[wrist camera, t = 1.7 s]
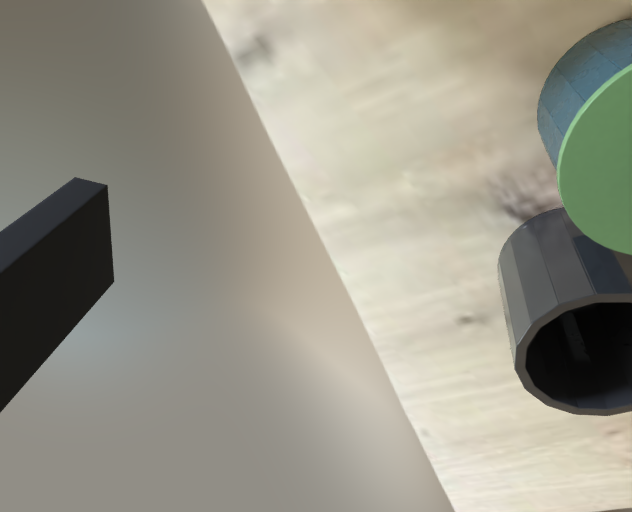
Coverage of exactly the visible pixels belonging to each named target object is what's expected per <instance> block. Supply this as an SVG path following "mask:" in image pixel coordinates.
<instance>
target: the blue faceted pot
mask: <svg viewBox="0 0 632 512" xmlns="http://www.w3.org/2000/svg"><path fill="white" fill-rule="evenodd" d="M630 64H632V19H627V20H622V21H619V22H616V23H612V24H610V25H607V26H605V27H603V28H600V29H598V30H596V31H595V32H593V33H591V34H589V35H588V36H586V37H585V38H583V39H582V40H580V41H579V42H578V43H576V44H575V45H574V46H573V47H572V48H571V49H570V50H568V51H567V52H566V53H565V55H564V56H563V57H562V58H561V59H560V60H559V61H558V63H557V64H556V65H555V67H554V68H553V69H552V71H551V73H550V74H549V76H548V78H547V80H546V82H545V84H544V87H543V89H542V92H541V95H540V99H539V104H538V110H537V121H538V130H539V133H540V135H541V139H542V141H543V143H544V146H545V148H546V151H547V153H548V155H549V157H550V159H551V161H552V163H553V165H554V167H555V169H556V171H557V162H558V157H559V151H560V148H561V145H562V142H563V139H564V137H565V135H566V132H567V130H568V128H569V126H570V124H571V123H572V121H573V119H574V118H575V116H576V115H577V113H578V112H579V110H580V109H581V108H582V106H583V105H584V104H585V103H586V102H587V100H588V99H589V98H590V97H591V96H592V95H593V94H594V93H595V92H596V91H597V90H598V89H599V88H600V87H601V86H602V85H603V84H604V83H605V82H607V81H608V80H609V79H610V78H612V77H613V76H614V75H615V74H617V73H618V72H620V71H621V70H623V69H624V68H626V67H627V66H629V65H630Z"/></svg>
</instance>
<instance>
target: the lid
mask: <svg viewBox="0 0 632 512" xmlns="http://www.w3.org/2000/svg"><path fill="white" fill-rule="evenodd" d="M557 184H558V190H559V194H560V197H561V200H562V203H563V205H564V207H565V209H566V211H567V213H568V215H569V217H570V218H571V219H572V221H573V222H574V224H575V225H576V226H577V227H578V228H579V229H580V230H581V231H582V232H583V233H584V234H585V235H587V236H588V237H589V238H591V239H592V240H593V241H595V242H597V243H599V244H601V245H603V246H604V247H607V248H609V249H612V250H615V251H617V252H621V253H625V254H629V255H632V64H630V65H629V66H627V67H626V68H624V69H623V70H621V71H620V72H618V73H617V74H615V75H614V76H613V77H612V78H610V79H609V80H608V81H607V82H605V83H604V84H603V85H602V86H601V87H600V88H599V89H598V90H597V91H596V92H595V93H594V94H593V95H592V96H591V97H590V98H589V99H588V100H587V102H586V103H585V104H584V105H583V106H582V108H581V109H580V110H579V112H578V113H577V115H576V116H575V118H574V119H573V121H572V123H571V124H570V126H569V128H568V130H567V132H566V135H565V137H564V139H563V142H562V145H561V148H560V151H559V157H558V162H557Z"/></svg>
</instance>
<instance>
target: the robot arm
mask: <svg viewBox="0 0 632 512" xmlns="http://www.w3.org/2000/svg"><path fill="white" fill-rule="evenodd" d="M113 282H114V273H113V258H112V244H111V230H110V216H109V201H108V187H107V185H104V184H100V183H96V182H92V181H88V180H84V179H80V178H76V177H75V178H73V179H72V180H71V181H69V182H68V183H67V184H65V185H64V186H62V187H61V188H60V189H58V190H57V191H56V192H54V193H53V194H51V195H50V196H49V197H47V198H46V199H45V200H43V201H42V202H41V203H39V204H38V205H36V206H35V207H34V208H32V209H31V210H30V211H28V212H27V213H25V214H24V215H23V216H21V217H20V218H19V219H17V220H16V221H14V222H13V223H12V224H10V225H9V226H8V227H6V228H5V229H4V230H2V231H1V232H0V412H1V411H2V410H3V409H4V408H5V407H6V405H7V404H8V403H9V402H10V401H11V400H12V398H13V397H14V396H15V395H16V394H17V393H18V392H19V390H20V389H21V388H22V387H23V386H24V385H25V383H26V382H27V381H28V380H29V379H30V378H31V377H32V375H33V374H34V373H35V372H36V371H37V370H38V369H39V367H40V366H41V365H42V364H43V363H44V362H45V361H46V359H47V358H48V357H49V356H50V355H51V354H52V353H53V351H54V350H55V349H56V348H57V347H58V346H59V344H60V343H61V342H62V341H63V340H64V339H65V337H66V336H67V335H68V334H69V333H70V332H71V331H72V330H73V328H74V327H75V326H76V325H77V324H78V323H79V321H80V320H81V319H82V318H83V317H84V316H85V315H86V313H87V312H88V311H89V310H90V309H91V307H93V305H94V304H95V303H96V302H97V301H98V300H99V299H100V297H101V296H102V295H103V294H104V293H105V292H106V290H107V289H108V288H109V287H110V286H111V285H112V284H113Z"/></svg>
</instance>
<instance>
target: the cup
mask: <svg viewBox="0 0 632 512" xmlns="http://www.w3.org/2000/svg"><path fill="white" fill-rule="evenodd" d="M498 282H499V287H500V292H501V298H502V303H503V309H504V314H505V319H506V325H507V330H508V336H509V341H510V346H511V352H512V357H513V363H514V368H515V371H516V373H517V375H518V377H519V378H520V380H521V382H522V384H523V386H524V388H525V389H526V390H527V391H528V392H529V393H531V394H532V395H533V396H535V397H536V398H537V399H539V400H540V401H541V402H543V403H544V404H545V405H547V406H550V407H553V408H556V409H559V410H562V411H566V412H569V413H572V414H576V415H598V416H608V415H609V416H610V415H615V414H620V413H625V412H630V411H632V255H629V254H625V253H621V252H617V251H615V250H612V249H609V248H607V247H604V246H603V245H601V244H599V243H597V242H595V241H593V240H592V239H591V238H589V237H588V236H587V235H585V234H584V233H583V232H582V231H581V230H580V229H579V228H578V227H577V226H576V225H575V224H574V222H573V221H572V219H571V218H570V217H569V215H568V213H567V211H566V209H565V208H560V209H555V210H551V211H548V212H545V213H542V214H540V215H538V216H536V217H534V218H532V219H530V220H528V221H527V222H525V223H524V224H523V225H521V226H520V227H519V228H518V229H517V230H515V231H514V232H513V234H512V235H511V236H510V237H509V238H508V240H507V241H506V243H505V244H504V246H503V248H502V250H501V253H500V256H499V260H498Z"/></svg>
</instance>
